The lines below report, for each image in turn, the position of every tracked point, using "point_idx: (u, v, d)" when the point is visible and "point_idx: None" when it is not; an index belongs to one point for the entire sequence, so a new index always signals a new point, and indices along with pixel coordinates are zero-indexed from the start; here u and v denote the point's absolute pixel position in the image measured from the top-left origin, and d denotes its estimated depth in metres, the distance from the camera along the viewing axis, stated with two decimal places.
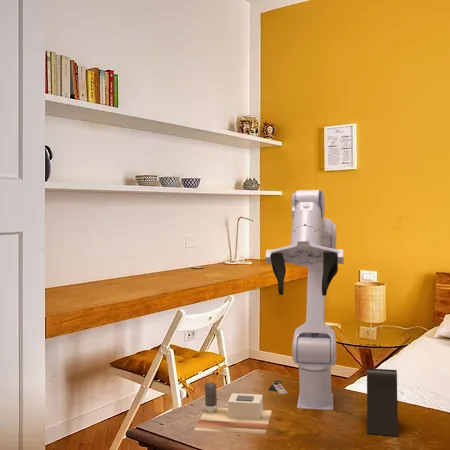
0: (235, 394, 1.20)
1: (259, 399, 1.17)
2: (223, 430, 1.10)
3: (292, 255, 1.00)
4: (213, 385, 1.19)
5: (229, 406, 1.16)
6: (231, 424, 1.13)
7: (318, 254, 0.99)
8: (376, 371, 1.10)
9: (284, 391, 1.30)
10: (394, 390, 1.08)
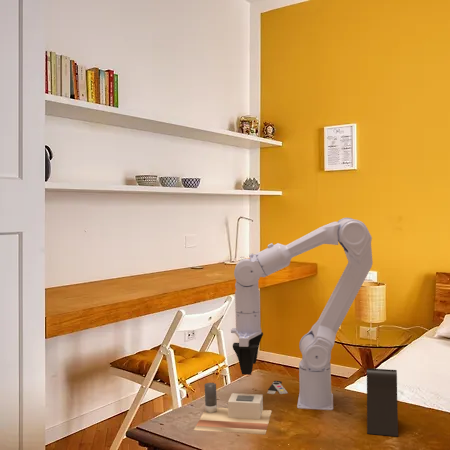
0: (235, 394, 1.20)
1: (259, 399, 1.17)
2: (223, 430, 1.10)
3: None
4: (213, 385, 1.20)
5: (229, 406, 1.16)
6: (231, 424, 1.13)
7: None
8: (376, 371, 1.10)
9: (284, 391, 1.30)
10: (394, 390, 1.08)
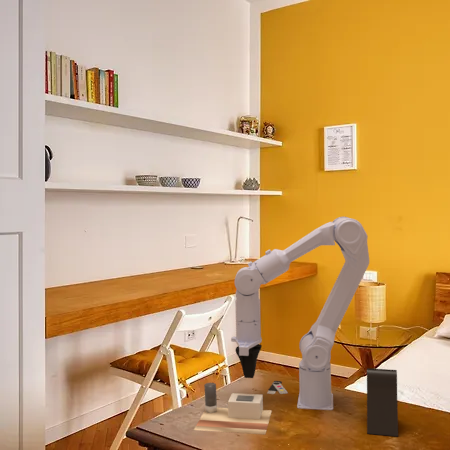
0: (235, 394, 1.20)
1: (259, 399, 1.17)
2: (223, 430, 1.10)
3: None
4: (213, 385, 1.19)
5: (229, 406, 1.16)
6: (231, 424, 1.13)
7: None
8: (376, 371, 1.10)
9: (284, 391, 1.30)
10: (394, 390, 1.08)
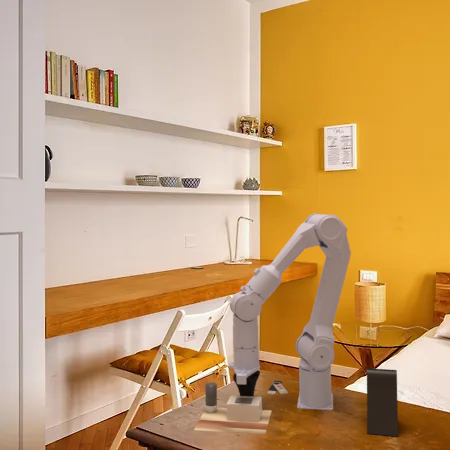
0: (234, 396, 1.19)
1: (258, 401, 1.16)
2: (223, 430, 1.10)
3: None
4: (214, 385, 1.20)
5: (228, 408, 1.15)
6: (231, 424, 1.13)
7: None
8: (376, 371, 1.10)
9: (284, 391, 1.30)
10: (394, 390, 1.08)
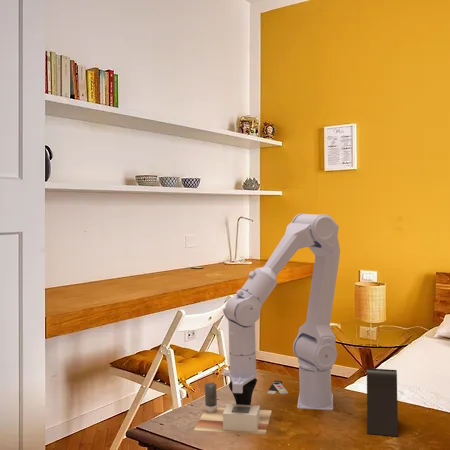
0: (231, 405, 1.14)
1: (256, 411, 1.11)
2: (223, 430, 1.10)
3: None
4: (213, 385, 1.19)
5: (224, 418, 1.10)
6: None
7: None
8: (376, 371, 1.10)
9: (284, 391, 1.30)
10: (394, 390, 1.08)
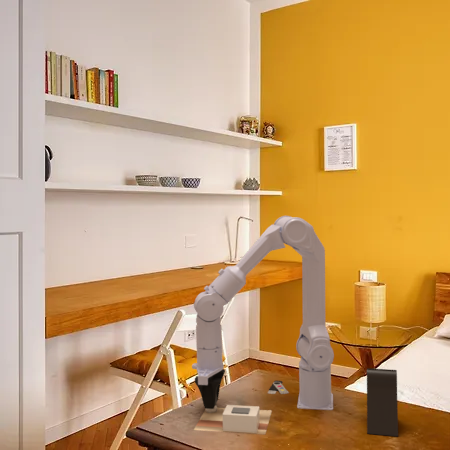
0: (230, 406, 1.14)
1: (256, 411, 1.11)
2: None
3: None
4: None
5: (224, 419, 1.10)
6: None
7: None
8: (376, 371, 1.10)
9: (285, 390, 1.30)
10: (394, 390, 1.08)
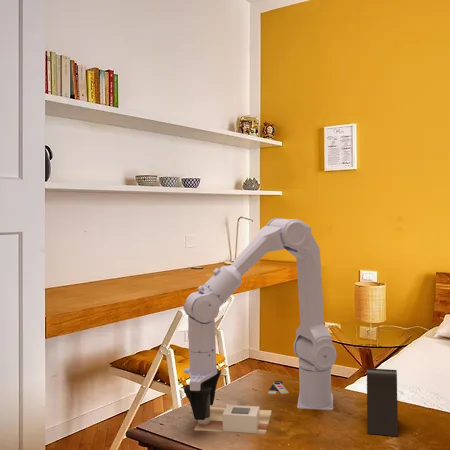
0: (230, 406, 1.14)
1: (256, 411, 1.11)
2: None
3: None
4: None
5: (224, 419, 1.10)
6: None
7: None
8: (376, 371, 1.10)
9: (285, 391, 1.30)
10: (394, 390, 1.08)
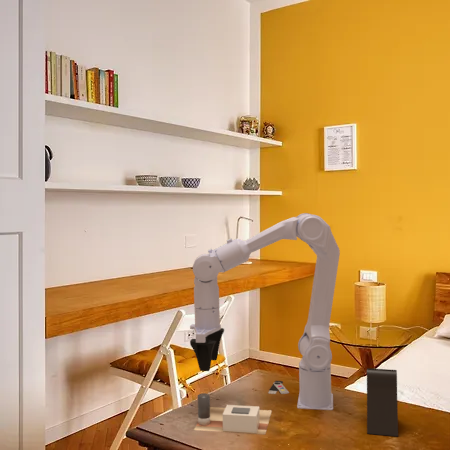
0: (230, 406, 1.14)
1: (256, 411, 1.11)
2: None
3: None
4: (207, 396, 1.13)
5: (224, 419, 1.10)
6: None
7: None
8: (376, 371, 1.10)
9: (285, 391, 1.30)
10: (394, 390, 1.08)
